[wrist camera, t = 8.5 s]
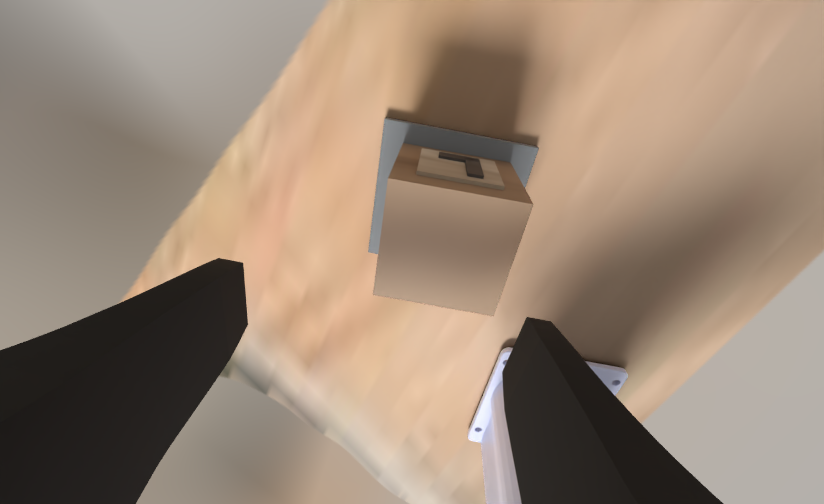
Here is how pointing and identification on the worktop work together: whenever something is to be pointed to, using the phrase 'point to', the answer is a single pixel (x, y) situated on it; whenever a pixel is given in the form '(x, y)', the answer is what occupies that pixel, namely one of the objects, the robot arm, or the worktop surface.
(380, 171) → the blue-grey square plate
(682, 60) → the worktop surface
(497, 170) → the letter cube
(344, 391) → the worktop surface
